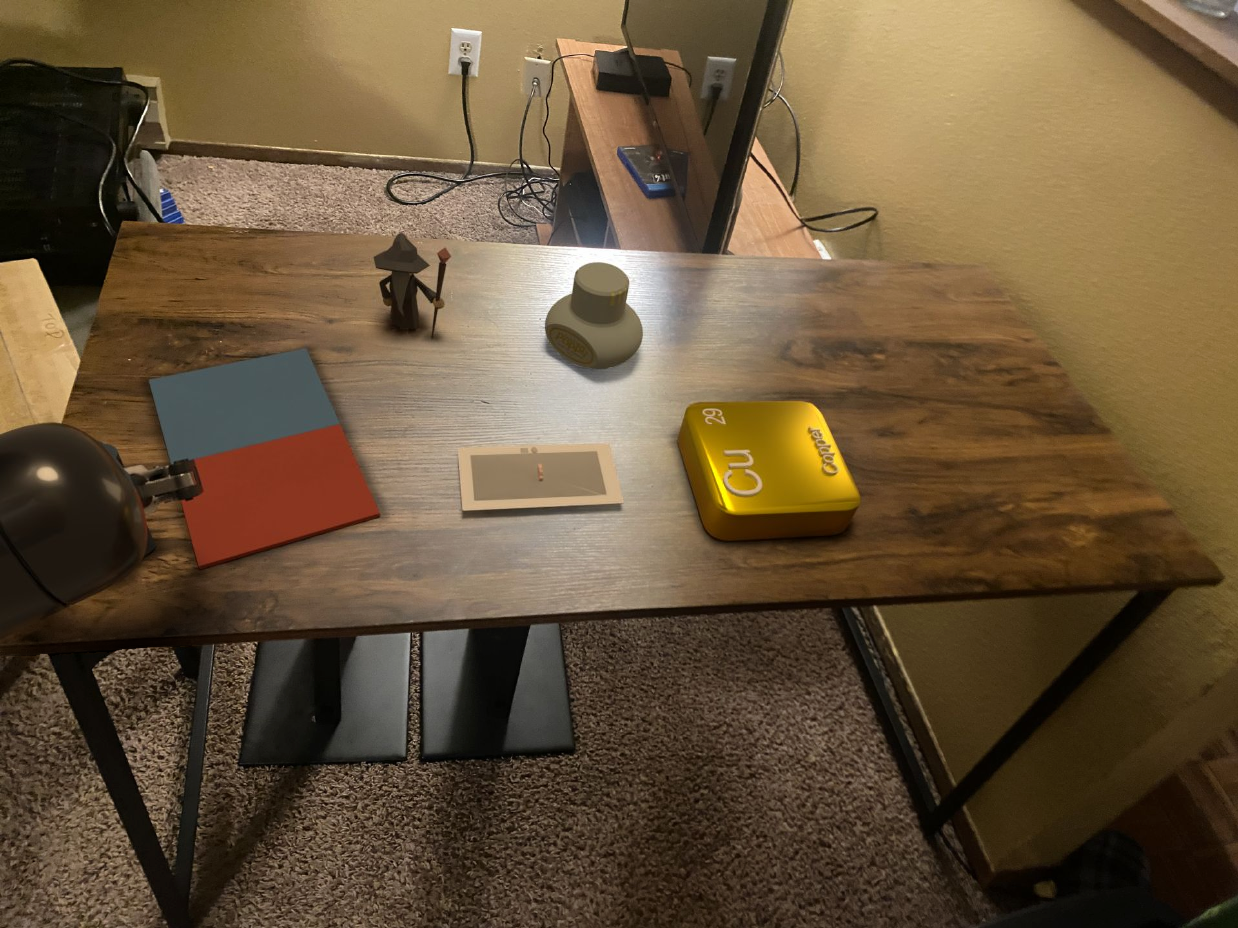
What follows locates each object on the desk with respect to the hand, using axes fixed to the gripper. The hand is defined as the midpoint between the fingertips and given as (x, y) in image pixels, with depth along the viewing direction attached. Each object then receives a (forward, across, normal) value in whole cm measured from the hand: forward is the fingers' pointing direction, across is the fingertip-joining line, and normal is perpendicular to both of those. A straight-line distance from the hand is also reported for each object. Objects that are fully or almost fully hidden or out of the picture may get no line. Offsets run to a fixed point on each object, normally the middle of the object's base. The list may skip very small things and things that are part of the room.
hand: (94, 499), depth 61 cm
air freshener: (+15, -49, -2) cm, 51 cm away
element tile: (-2, -56, +15) cm, 58 cm away
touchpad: (+4, -35, +9) cm, 36 cm away
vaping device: (+8, 0, +5) cm, 9 cm away
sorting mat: (+13, -12, -1) cm, 18 cm away
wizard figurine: (+22, -32, -10) cm, 40 cm away
